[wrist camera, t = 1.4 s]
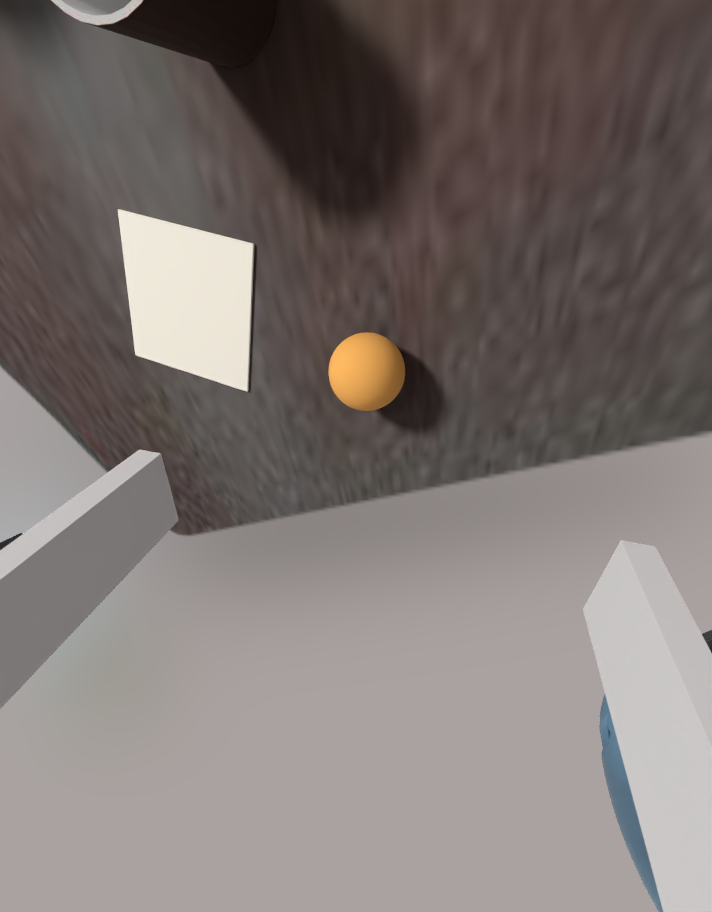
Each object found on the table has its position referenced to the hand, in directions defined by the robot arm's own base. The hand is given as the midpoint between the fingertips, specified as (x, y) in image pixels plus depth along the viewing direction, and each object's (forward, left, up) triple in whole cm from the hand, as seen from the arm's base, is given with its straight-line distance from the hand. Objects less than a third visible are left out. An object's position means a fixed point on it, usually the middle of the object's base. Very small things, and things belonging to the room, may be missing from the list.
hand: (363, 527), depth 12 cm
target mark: (+22, +2, -21) cm, 30 cm away
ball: (+5, +2, -18) cm, 19 cm away
